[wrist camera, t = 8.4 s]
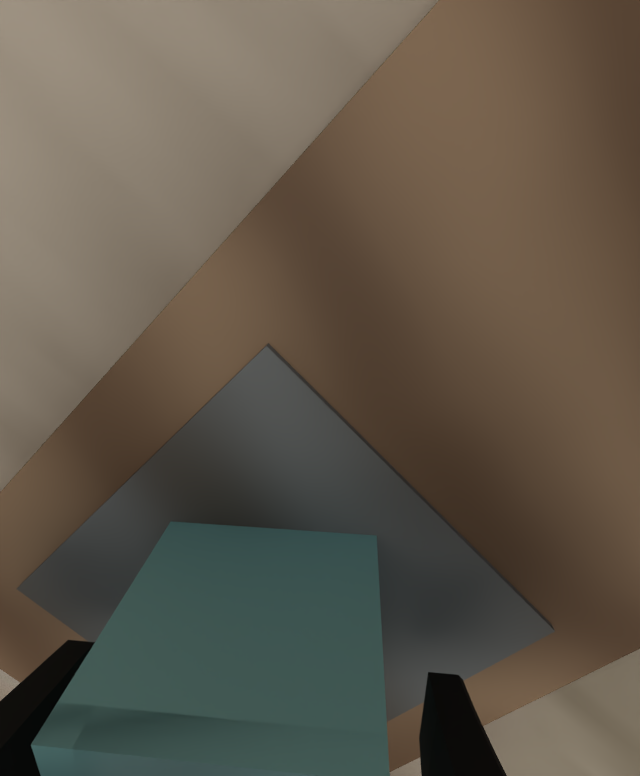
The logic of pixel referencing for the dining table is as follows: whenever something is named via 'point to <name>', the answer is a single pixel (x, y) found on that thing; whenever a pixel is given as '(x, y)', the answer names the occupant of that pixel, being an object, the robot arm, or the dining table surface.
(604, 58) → the board
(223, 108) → the dining table surface
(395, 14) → the dining table surface
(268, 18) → the dining table surface
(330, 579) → the teal cube crate
